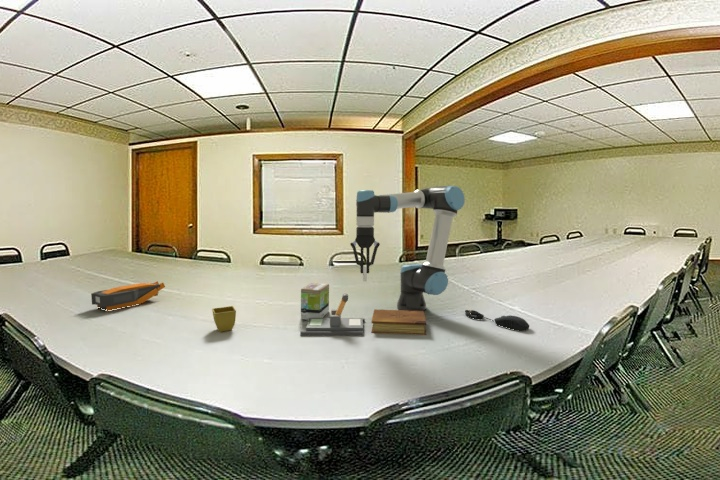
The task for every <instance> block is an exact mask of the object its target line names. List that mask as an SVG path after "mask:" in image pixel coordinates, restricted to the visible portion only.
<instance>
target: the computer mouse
mask: <svg viewBox="0 0 720 480" xmlns="http://www.w3.org/2000/svg"><path fill="white" fill-rule="evenodd" d="M464 313H465V315H466V317H468V316H469V317H468V318H470V317H471V318H474V319H482V320H483V319H487V320H490V321H491V320H492V322H494V321H495V322H494V323H495V325H496V324H497V325H500V326H503V327H507V328H510V329H509V330H511V329H514V330H513V331H515V330H519V331H518V332H526V331H528V330H529V328H530V324H529V323H528V321H527V320H525V319H524V318H523V317H520V316H517V315H510V314H509V315H501V316H499V317H495V318H494V319H491V318H489V317H485V316H484V314H483V313H480V312H479V311H477V310H474V309H469V310H468V309H465V310H464ZM470 313H471V314H470ZM472 314H473V315H472ZM475 315H477V316H475ZM471 318H470V319H471ZM474 319H473V320H474ZM497 325H496V326H497ZM500 326H499V327H500ZM503 327H502V328H503ZM507 328H506V329H507Z"/></svg>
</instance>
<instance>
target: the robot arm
mask: <svg viewBox="0 0 720 480" xmlns="http://www.w3.org/2000/svg"><path fill="white" fill-rule="evenodd" d="M465 200H466V199H465V193H464V192H463V190H462V189H461V187H459V186H457V185H443V186H442V185H441V186H432V187H427V188H422V189H416V190H414V191H412V192H411V191H410V192H399V193H389V194H388V193H387V194H375V191H374V190H373V189H372V190H370V189H369V190H368V189H366V190H363V189H361V190H358V191H357V192H356V200H355V201H356V203H355V205H356V218H355V219H356V220H355V221H356V229H355V230H356V231H355V232H356V237H355V239H354V240H353V241H352V242H351V241H350V246H351V248H352V250H353V255H354V260H355V263H356V265H358V266H359V267H360V269H359V270H360V271H359V272H360V274H362V281H363V282H367V276H368V275H367V274H370V267H371V266H373V265H374V263H375V259H376V255H377V251H378V248H379V247H380V246H381V244H380V242H379V241H377V240H376V238H375V235H374V234H375V228H374V225H375V213H386V214H387V213H394V212H396V210H399V209H408V208H416V209H428V210H429V209H430V210H433V213H434V215H435V216H434V220H433V224H432V228H431V229H432V230H431V235H430V240H429V244H428V248H427V252H426V253H427V254H426V258H425V259H426V260H425V261H424V262H423V263H421V264H419V263H418V264H417V263H415V264H404V265H402V266H401V268H400V294H399V298H398V300H397V302H396V308H397V310H408V311H424V312H425V311H426V310H425V309H427V303H426V300H425V297H424V293H425V294H428V295H433V296H439V295H441V294H442V293H443V292H445V290H446V289H447V287H448V284H449V278H448V275H447V273H446V268H445V266H444V263H445V258H446V253H447V247H448V245H449V244H448V243H449V238H450V232H451V229H452V223H453V218H455V217H456V216H457V215H458V212H459V211H460V210H461V209H462V208H464V205H465ZM357 245H358V247H359V248H360V260H359V256H358V253H357ZM372 245H373V247H374V248H373V251H372V255H371V259H370V248H371V247H372ZM364 249H365V250H366V251H365V252H366V257H365V258H366V259H365V260H366V264H365V265H364Z"/></svg>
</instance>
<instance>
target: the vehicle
mask: <svg viewBox="0 0 720 480" xmlns="http://www.w3.org/2000/svg"><path fill="white" fill-rule="evenodd" d="M165 288H166V285H165V283H164V282H161V283H159V281H157V280H156V281H154V282H153V283H152V282H147V283H146V282H140V283H134V284H129V285H123V286H117V287H113V288H110V289H104V290H99V291H95V292H92V293H91V297H90V298H91V305H96V306H97V307H100V308H102V309H105V310H106V309H107V311H108V310H112V309H117V308H122V307H127V306H132V305H136V304H140V305H142V304H144V303H145V302H146V301H148V300H150V299H151V298H153V297H157V296H159V291H161V290H163V289H165ZM141 303H142V304H141ZM97 307H96V308H97ZM107 311H106V312H107Z"/></svg>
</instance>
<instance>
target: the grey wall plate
mask: <svg viewBox="0 0 720 480" xmlns="http://www.w3.org/2000/svg"><path fill="white" fill-rule="evenodd" d="M362 318H363V317H362ZM309 319H310V318H309ZM309 319H308V320H307V323H308V322H309ZM365 320H366V319H365V318H363V323H365ZM299 335H300V336H301V337H302V336H303V337H305V336H307V337H308V336H309V337H310V336H311V337H312V336H314V337H315V336H316V337H317V336H319V337H320V336H321V337H324V336H333V337H335V336H340V337H341V336H345V337H346V336H349V337H352V336H353V337H354V336H358V337H359V336H364V330H363V331H306V330H305V331H304V330H301V331H300V334H299Z"/></svg>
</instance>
